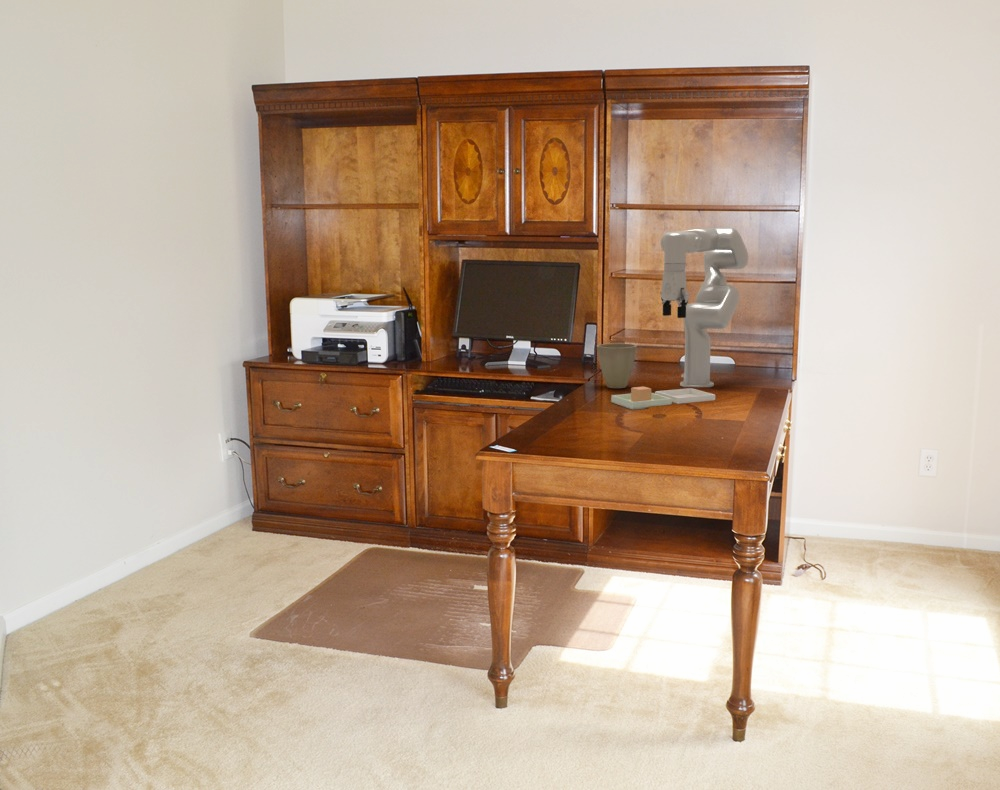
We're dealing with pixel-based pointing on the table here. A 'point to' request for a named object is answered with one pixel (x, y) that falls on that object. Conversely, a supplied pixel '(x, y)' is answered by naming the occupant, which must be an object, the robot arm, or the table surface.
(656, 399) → the green tray
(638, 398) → the brown cube
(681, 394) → the white tray
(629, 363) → the plant pot
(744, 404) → the table surface
